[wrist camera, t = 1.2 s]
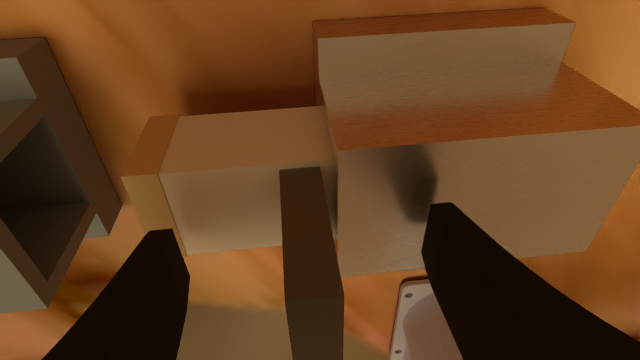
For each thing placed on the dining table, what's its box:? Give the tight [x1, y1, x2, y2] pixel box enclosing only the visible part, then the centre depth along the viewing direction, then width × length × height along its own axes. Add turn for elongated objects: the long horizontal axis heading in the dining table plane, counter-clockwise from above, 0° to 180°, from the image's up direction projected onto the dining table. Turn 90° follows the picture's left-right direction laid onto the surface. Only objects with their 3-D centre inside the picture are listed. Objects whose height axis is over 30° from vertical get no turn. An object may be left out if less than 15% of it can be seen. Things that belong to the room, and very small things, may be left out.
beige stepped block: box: [312, 8, 640, 277], centre depth 15 cm, size 9×8×7 cm
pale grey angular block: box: [121, 106, 344, 360], centre depth 12 cm, size 14×4×8 cm, turn 91°
